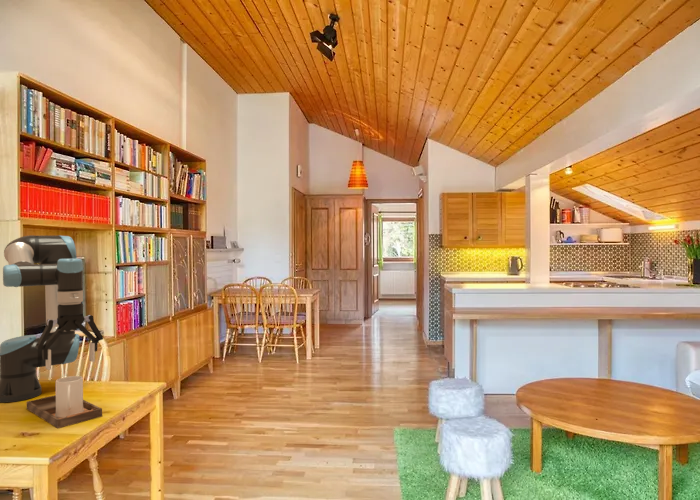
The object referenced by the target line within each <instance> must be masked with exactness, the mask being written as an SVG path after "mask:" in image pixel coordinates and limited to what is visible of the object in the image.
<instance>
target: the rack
mask: <svg viewBox="0 0 700 500" xmlns="http://www.w3.org/2000/svg"><path fill="white" fill-rule="evenodd" d="M83 409H84V412H81V413H77V414H73V415H69V416H66V417H65V418H57V417H55V413H56V394H55V395H50V396H46V397H42V398H37V399H33V400H29V401H26V410H28V411H30V412H31V413H32V414H34V415H35V416H37V417H39V418H40V419H42V420H44V421H45V422H47V423H49V424H50V425H52V426H54V428H56V429H60V428H64V427H68V426H72V425H75V424H79V423H82V422H86V421H87V422H88V421H90V420H93V419H97V418H101V417H103V408H102V407H99V406H97V405H95V404H93V403H91V402H88V401H87V400H85V399H83Z"/></svg>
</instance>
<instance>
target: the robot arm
mask: <svg viewBox="0 0 700 500" xmlns="http://www.w3.org/2000/svg"><path fill="white" fill-rule="evenodd" d="M76 249H77V248H76V244H75V241H74V240H73V238H72V237H71V236H69V235H60V234H59V235H34V234H33V235H32V234H31V235H24V236H21V237H18V238H16V239H14V240H12V241H10V242H9V243H7V245H5V247H4V250H3V256H4V259H5V261H6V262H7V264H5V265H3V267H2V285H3V287H7V288H9V287H11V288H18V287H20V288H21V287H34V286H35V287H38V286H40V287H41V286H44V287H45V289H44V290H45V291H44V292H45V327H44V329H43V330H42V333H41V336H40V337H37V336H36V335H35V334H29V335H27V334H26V335H21V336H16V337H12V338H9V339H6V340H4V341H2V342H1V344H0V403H12V402H21V401H26V400H30V399H33V398H36V397H38V396H40V395H42V385H41V383H40V380H39V378H38V376H37V368H42V367H43V368H44V367H45V370H48V371H51V370H52V366H57V365H58V366H59V365H65V364H70V363H73V362H75V361H76V360H77V358H78V355H79V350H80V334H79V333H76V331H77V330H79V331H80V332H81V333H82V334H83V335H85V336H86V337H87V338H88V339H89V340H90V341H91V342H89V346H88V350H89V351H88V353H89V358H88V359H89V362H92V363H93V362H94V363H95V361H96V359H95V358H96V354H95V353H96V352H97V351H98V343H99V342H100V341H103V339H104V336H103V335H102V333H101V331H100V330H99V328H98V326H97V325H96V323H95V321H94V316H93V315H91V314H87V315H86V316H84V304H83V303H82V302H84V285H83V284H84V281H83V280H84V274H83V273H84V272H83V271H84V266H83V259H81V258H78V257H77V250H76ZM84 322H86V323H88V326H89V327H90V329H91V332H93V334H94V335H93V334H92V333H91V332H90V331H89V330H88V329H87V328H86V327H85V326H84V325H83V323H84Z"/></svg>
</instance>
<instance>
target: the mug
mask: <svg viewBox="0 0 700 500" xmlns="http://www.w3.org/2000/svg"><path fill="white" fill-rule="evenodd" d="M55 395H56V413H55V417H57V418H65V417H66V416H69V415H73V414H77V413H81V412H84V409H83V400H84V378H83V376H82V375H69V376H65V377H60V378H57V379H56V380H55Z"/></svg>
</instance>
